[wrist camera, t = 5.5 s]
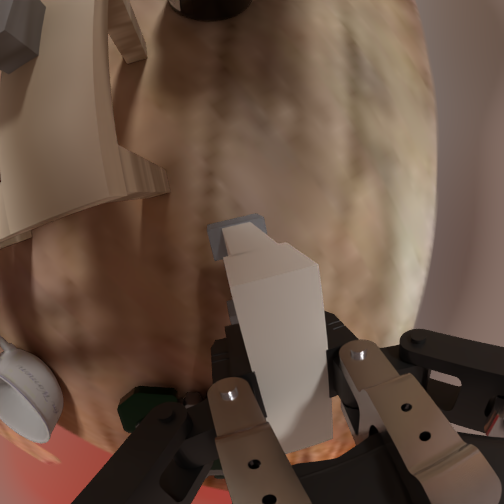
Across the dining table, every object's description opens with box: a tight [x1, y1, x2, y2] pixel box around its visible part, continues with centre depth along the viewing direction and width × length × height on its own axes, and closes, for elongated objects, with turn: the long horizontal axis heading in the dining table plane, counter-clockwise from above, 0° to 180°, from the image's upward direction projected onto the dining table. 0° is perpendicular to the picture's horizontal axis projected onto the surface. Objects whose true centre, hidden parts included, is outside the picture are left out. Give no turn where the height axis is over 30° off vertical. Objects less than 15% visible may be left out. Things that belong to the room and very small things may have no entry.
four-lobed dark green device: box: [117, 386, 267, 479], centre depth 27 cm, size 18×18×5 cm
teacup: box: [0, 336, 63, 443], centre depth 20 cm, size 14×11×8 cm
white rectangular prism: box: [207, 214, 333, 454], centre depth 14 cm, size 8×4×13 cm, turn 12°
